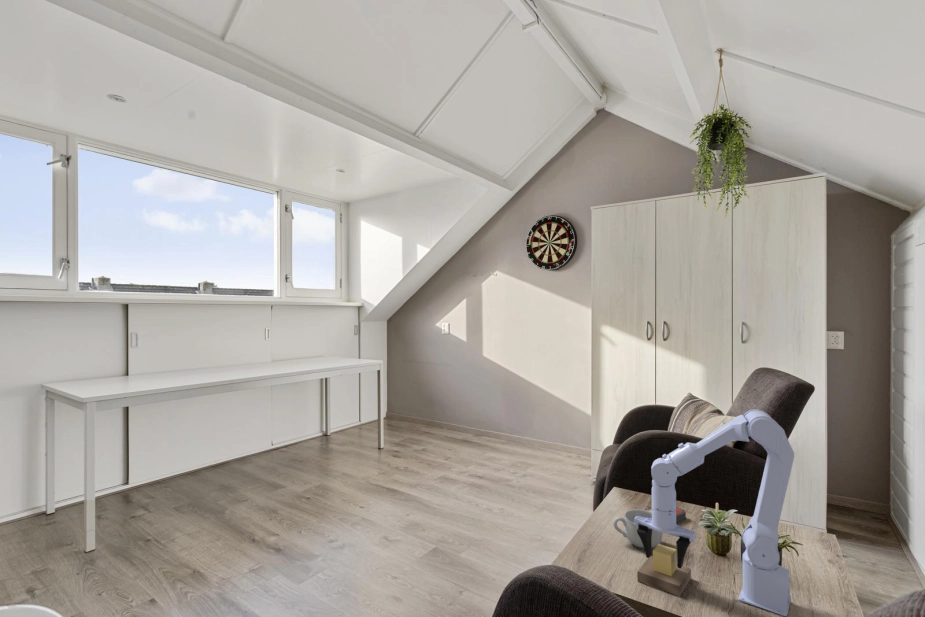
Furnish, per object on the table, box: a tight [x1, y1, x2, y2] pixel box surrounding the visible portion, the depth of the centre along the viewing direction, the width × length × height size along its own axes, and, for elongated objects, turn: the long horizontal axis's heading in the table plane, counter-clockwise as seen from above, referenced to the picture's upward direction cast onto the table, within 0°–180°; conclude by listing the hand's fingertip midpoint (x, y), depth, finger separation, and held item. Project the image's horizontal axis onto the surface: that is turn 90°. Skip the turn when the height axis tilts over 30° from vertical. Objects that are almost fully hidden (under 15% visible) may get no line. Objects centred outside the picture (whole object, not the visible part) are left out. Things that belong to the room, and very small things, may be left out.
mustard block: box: [652, 543, 677, 576], centre depth 119 cm, size 4×4×5 cm
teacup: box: [612, 508, 663, 550], centre depth 138 cm, size 14×11×8 cm
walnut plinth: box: [636, 555, 692, 597], centre depth 119 cm, size 10×10×2 cm
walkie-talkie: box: [648, 506, 687, 525], centre depth 153 cm, size 9×4×20 cm
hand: (664, 561), depth 119 cm, fingers open, 7 cm apart
